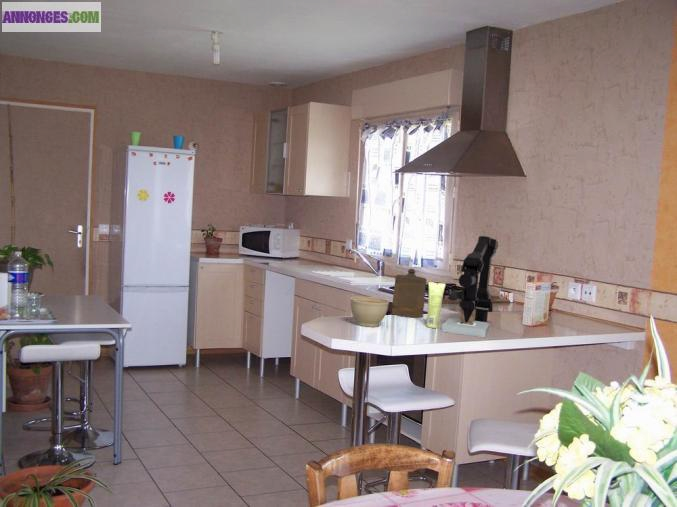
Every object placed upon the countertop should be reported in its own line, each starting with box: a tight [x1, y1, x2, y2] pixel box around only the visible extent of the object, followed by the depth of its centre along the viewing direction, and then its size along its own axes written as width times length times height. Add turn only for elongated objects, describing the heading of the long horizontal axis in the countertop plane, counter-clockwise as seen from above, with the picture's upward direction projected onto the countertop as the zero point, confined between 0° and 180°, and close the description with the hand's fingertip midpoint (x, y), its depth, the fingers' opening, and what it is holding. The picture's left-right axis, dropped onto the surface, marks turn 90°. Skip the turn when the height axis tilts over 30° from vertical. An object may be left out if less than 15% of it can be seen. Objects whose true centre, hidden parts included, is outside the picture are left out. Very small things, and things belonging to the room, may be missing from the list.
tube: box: [426, 281, 447, 329], centre depth 307 cm, size 6×5×20 cm
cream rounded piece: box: [460, 308, 476, 325], centre depth 307 cm, size 6×6×8 cm
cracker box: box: [521, 281, 552, 328], centre depth 340 cm, size 14×6×21 cm, turn 134°
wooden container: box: [391, 268, 427, 319], centre depth 335 cm, size 15×15×22 cm
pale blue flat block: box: [441, 317, 491, 338], centre depth 307 cm, size 22×18×3 cm
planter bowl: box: [350, 296, 390, 328], centre depth 298 cm, size 16×16×11 cm
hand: (467, 321), depth 307 cm, fingers open, 6 cm apart
